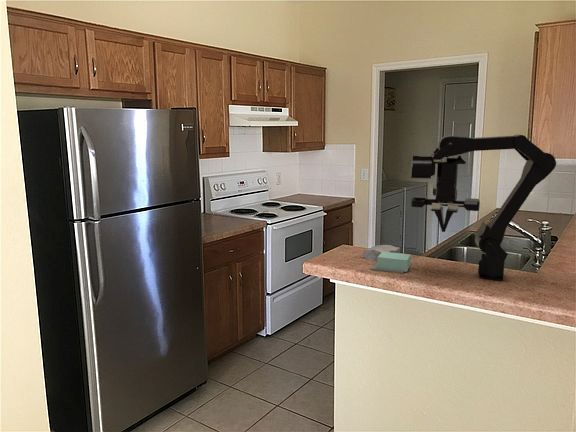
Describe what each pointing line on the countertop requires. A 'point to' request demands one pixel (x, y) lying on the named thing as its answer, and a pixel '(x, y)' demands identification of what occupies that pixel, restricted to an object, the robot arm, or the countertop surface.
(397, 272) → the mat
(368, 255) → the stone block
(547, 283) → the countertop surface
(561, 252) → the countertop surface
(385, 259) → the slab
